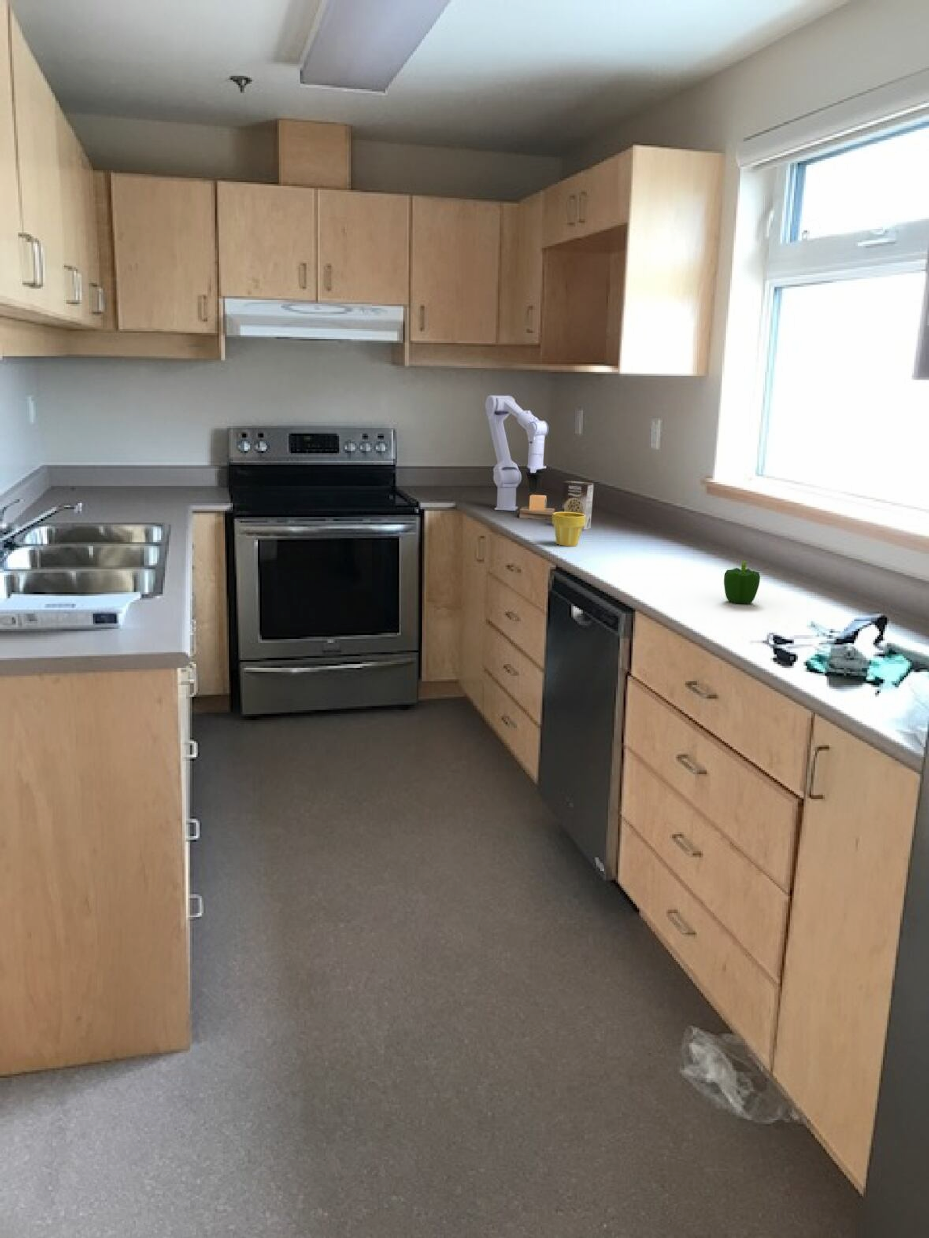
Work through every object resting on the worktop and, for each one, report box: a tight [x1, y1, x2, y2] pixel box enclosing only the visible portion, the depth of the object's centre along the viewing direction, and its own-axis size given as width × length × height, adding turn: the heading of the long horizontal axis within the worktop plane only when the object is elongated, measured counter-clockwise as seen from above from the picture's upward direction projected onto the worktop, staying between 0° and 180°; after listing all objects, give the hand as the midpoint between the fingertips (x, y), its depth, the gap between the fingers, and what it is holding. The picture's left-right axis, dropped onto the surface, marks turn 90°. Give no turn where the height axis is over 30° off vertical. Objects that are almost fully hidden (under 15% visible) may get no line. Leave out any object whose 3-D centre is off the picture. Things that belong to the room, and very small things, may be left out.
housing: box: [528, 494, 548, 510], centre depth 372 cm, size 6×4×5 cm
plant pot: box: [551, 511, 585, 547], centre depth 316 cm, size 10×10×10 cm
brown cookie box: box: [561, 480, 595, 531], centre depth 349 cm, size 9×6×16 cm
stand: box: [519, 506, 556, 521], centre depth 373 cm, size 10×12×3 cm
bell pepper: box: [723, 560, 761, 605], centre depth 244 cm, size 8×8×10 cm
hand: (534, 490), depth 375 cm, fingers open, 7 cm apart
